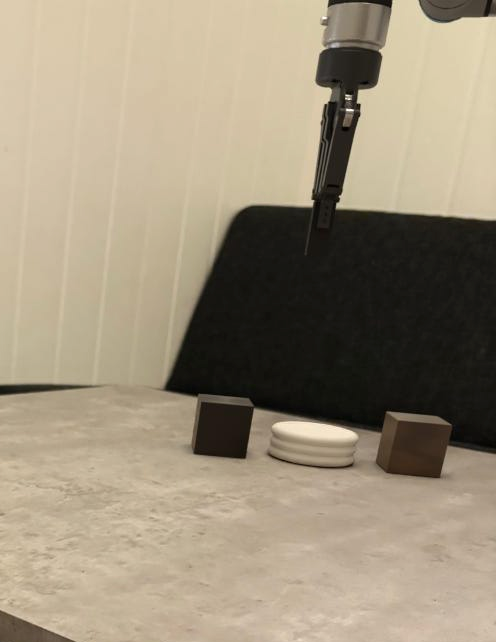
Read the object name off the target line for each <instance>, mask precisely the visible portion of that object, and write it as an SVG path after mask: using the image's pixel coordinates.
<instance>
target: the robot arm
mask: <svg viewBox="0 0 496 642" xmlns="http://www.w3.org/2000/svg"><path fill="white" fill-rule="evenodd" d="M393 1H394V0H328V1H327V9H326V15H323V16H321V17H320V20H319V24H320V26H324V27H325V29H324V30H323V31H322V39H321V45H322V46H323V47H324V48H325V49H322V50H321V51H320V52H319V55H318V59H317V66H316V73H315V78H314V81H315V84H316V85H317V86H319V87H321V88H325V89H328V88H329V89H330V90H331V94H330V96H329V101H327V103H324V104H323V106H322V107H323V108H322V113H321V120H320V123H319V124H320V132H319V141H318V142H319V143H318V150H317V157H316V164H315V165H316V166H315V172H314V180H313V187H312V190H311V196H310V199H311V201H313V202H312V208H311V214H310V220H309V226H308V231H307V238H306V244H305V250H304V256H308V257H309V256H310V257H311V256H312V257H323V258H327V257H328V255H329V248H330V243H331V237H332V236H331V235H332V233H333V227H334V221H335V215H336V209H337V205H338V204H339V203H340V201H341V196H342V194H343V192H344V184H345V179H346V174H347V171H348V166H349V161H350V158H351V154H352V153H351V152H352V148H353V143H354V140H355V139H354V138H355V135H356V130H357V126H358V123H359V121H360V120H359V119H360V118H361V116H362V115H361V114H362V112H361V107H362V104H361V103H360V102H358V99H359V97H358V96H359V91H363V90H364V91H365V90H371V89H374V88H375V87H376V86H377V85H378V84H379V78H380V73H381V67H382V62H383V55H382V52H380V50H382V49H383V48H384V47H386V42H387V38H388V33H389V27H390V22H391V16H392V11H393V10H392V9H393ZM417 1H418V4H419V7H420V9H421V12H422V13H423V14H424V16H425V17H426V18H428V20H430V21H432V22H434V23H436V24H450V23H452V22H456V21H459V20H461V19H463V18H467V19H468V18H470V19H475V18H477V19H478V18H496V0H417Z"/></svg>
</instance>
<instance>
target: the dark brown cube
mask: <svg viewBox="0 0 496 642" xmlns="http://www.w3.org/2000/svg"><path fill="white" fill-rule="evenodd" d="M254 410H255V405H254V403H253V402H252V401H251V400H250V398H249V397H238V396H237V397H236V396H228V395H227V396H225V395H215V394H207V393H198V395H197V402H196V408H195V415H194V422H193V429H192V437H191V448H192V451H193V454H194V455H202V456H203V455H205V456H215V457H223V458H224V457H225V458H235V459H244V460H245V459H247V454H248V449H249V441H250V435H251V430H252V424H253V416H254V412H255V411H254Z"/></svg>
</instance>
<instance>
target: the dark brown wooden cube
mask: <svg viewBox="0 0 496 642" xmlns="http://www.w3.org/2000/svg"><path fill="white" fill-rule="evenodd" d="M452 430H453V424H451V423H449V422H448V421H446V420H445V419H443V418H441V417H439V416H438V415H429V414H419V413H418V414H416V413H407V412H396V411H386V412H385V415H384V421H383V425H382V430H381V435H380V440H379V443H378V449H377V453H376V458H375V463H376V464H377V465H378V466H379V467H381V468H382V469H383V470H384V471H385V472H386V473H387V474H395V475H397V474H399V475H407V476H416V477H417V476H418V477H426V478H427V477H428V478H437V479H438V478H441V475H442V471H443V468H444V467H443V466H444V462H445V458H446V454H447V450H448V446H449V443H450V437H451V434H452Z"/></svg>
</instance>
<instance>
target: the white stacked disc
mask: <svg viewBox="0 0 496 642" xmlns="http://www.w3.org/2000/svg"><path fill="white" fill-rule="evenodd" d="M270 430H271V431H270V432H271V435H270V436H269V444H268V447H267V451H268V453H269V454H270V455H271V456H272V457H274V458H276V459H280V460H282V461H286V462H288V463H289V462H290V463H293V464H298V465H304V466H311V467H320V468H321V467H323V468H341V467H347V466H350V465H351V464H353V463H354V461H355V453H356V452H357V444H358V443H359V435H358V434H357V432H355V431H352V430H350V429H347V428H344V427H340V426H336V425H330V424H324V423H319V422H318V423H317V422H311V421H310V422H309V421H295V420H294V421H291V420H290V421H279V422H276V423H274V424H273V425H272V426H271V428H270Z"/></svg>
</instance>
